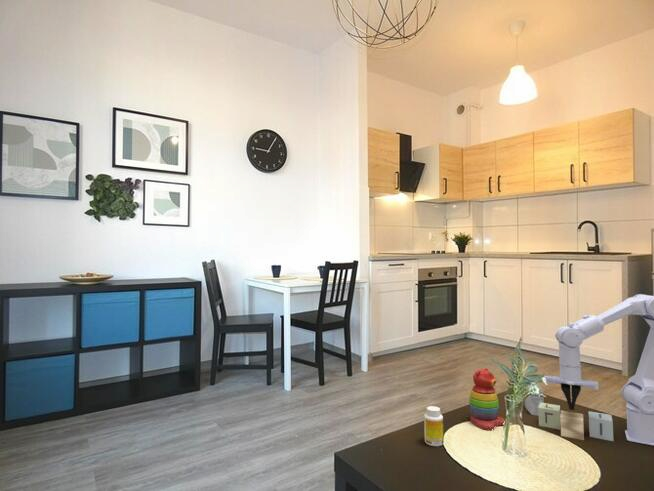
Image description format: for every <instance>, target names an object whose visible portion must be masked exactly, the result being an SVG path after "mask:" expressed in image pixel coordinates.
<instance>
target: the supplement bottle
mask: <svg viewBox="0 0 654 491" xmlns="http://www.w3.org/2000/svg"><path fill="white" fill-rule="evenodd" d="M423 420H424V422H423V426H424V429H423V430H424V432H423V433H424V442H425V444H426V445H428V446H431V447H440V446H443V444H444V416H443V414H441V408H440V407H438V406H433V405H430V406H427V407H426V413H424V415H423Z"/></svg>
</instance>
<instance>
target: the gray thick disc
mask: <svg viewBox="0 0 654 491" xmlns="http://www.w3.org/2000/svg"><path fill="white" fill-rule="evenodd" d="M541 391H542V393H543V394H544V391H543V390H542V389H541ZM540 402H541V403H545V401H544V396H543V397H539V396H534V395H529V396H528V397H527V398H526V399H525V398H524V408H525V409H526V410H527V411H528V413H529V414H530V415H531V416H537V417H539V413H538V407H539V404H540Z"/></svg>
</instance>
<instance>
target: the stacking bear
mask: <svg viewBox="0 0 654 491" xmlns="http://www.w3.org/2000/svg"><path fill="white" fill-rule="evenodd" d="M472 379H473V383H474V385H473V387H472V388H471V389H470V393H469V394H470V395H469V398H468V399H469V401H468V403H469V409H470V413H471V415H470V419H469V420H470V422H471V423H472V424H473V425H474V426H475V425H476V426H475V427H476V428H480V429H481V428H482V430H484V431H493V430H492V429H494V430H495V428H496V427H499V426H498V425H503V423H504V421H505V422H506V420H505V418H503V417H501V416H498V414H499V411H500V410H499V407H500V401H499V398H498V395H497V391H496V389H495V385H496V384H497V378H496V377H495V376H494V374H493V373H492V372H491V371H490V370H489V369H488V368H487V367H485V368H484V369H483V368H481V369H477V370H476V371H474V373H473V376H472ZM495 426H496V427H495ZM494 427H495V428H494Z"/></svg>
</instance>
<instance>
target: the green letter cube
mask: <svg viewBox="0 0 654 491" xmlns="http://www.w3.org/2000/svg"><path fill="white" fill-rule="evenodd" d="M538 413H539V416H538V426H539V427H543V428H549V429H554V430H559V431H561V421H560V415H561V406H560V405H559V404H551V403H545V402H544V403H541V402H540V404H539V407H538Z"/></svg>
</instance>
